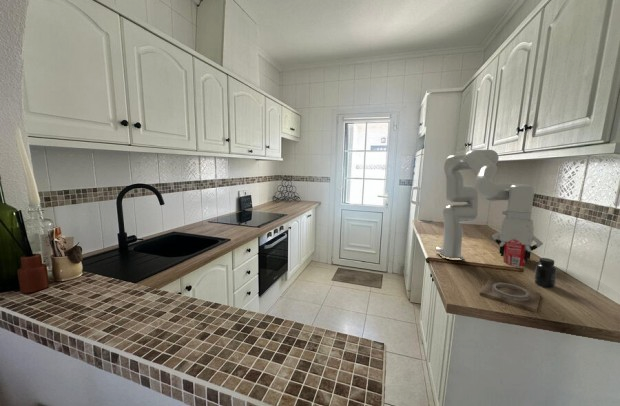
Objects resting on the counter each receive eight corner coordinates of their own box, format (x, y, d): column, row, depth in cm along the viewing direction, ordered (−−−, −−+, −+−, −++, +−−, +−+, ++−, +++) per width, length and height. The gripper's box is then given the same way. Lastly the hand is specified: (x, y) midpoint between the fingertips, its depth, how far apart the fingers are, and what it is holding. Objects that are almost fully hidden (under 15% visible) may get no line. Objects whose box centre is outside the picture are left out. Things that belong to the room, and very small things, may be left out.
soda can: (516, 261, 106) (519, 234, 104) (529, 268, 99) (532, 239, 97) (498, 261, 107) (501, 234, 105) (510, 268, 100) (513, 239, 98)
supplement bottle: (548, 282, 116) (551, 257, 114) (558, 289, 109) (562, 263, 107) (530, 280, 118) (533, 256, 116) (539, 287, 111) (542, 262, 109)
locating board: (479, 294, 106) (480, 288, 106) (489, 282, 117) (489, 276, 117) (536, 312, 93) (536, 305, 93) (540, 296, 104) (541, 290, 104)
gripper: (490, 214, 104) (486, 254, 106) (547, 220, 91) (541, 266, 94) (494, 211, 109) (490, 250, 111) (549, 216, 96) (543, 260, 99)
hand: (514, 257), depth 102 cm, fingers closed on soda can, 7 cm apart
